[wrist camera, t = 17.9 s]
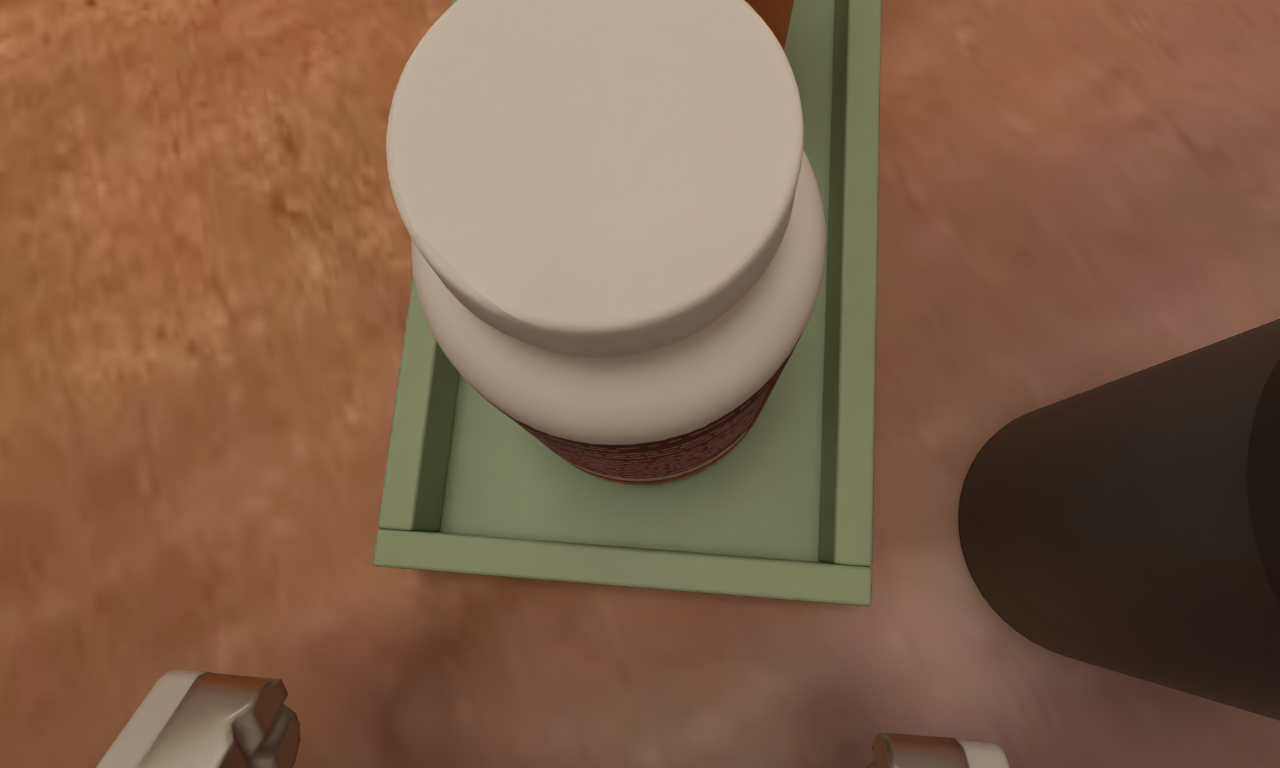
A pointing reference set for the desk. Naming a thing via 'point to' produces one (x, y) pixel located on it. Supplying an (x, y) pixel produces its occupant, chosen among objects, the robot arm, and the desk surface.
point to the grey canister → (1145, 523)
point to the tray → (729, 489)
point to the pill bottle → (610, 220)
